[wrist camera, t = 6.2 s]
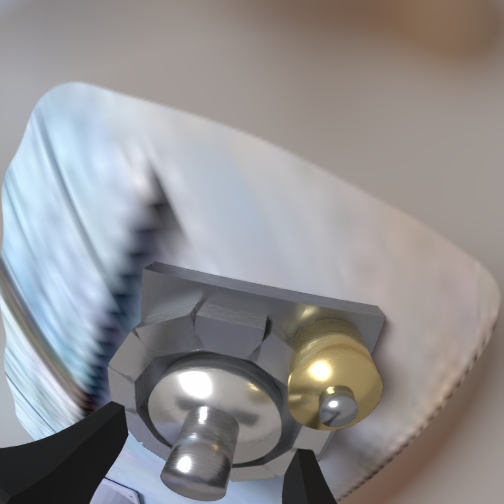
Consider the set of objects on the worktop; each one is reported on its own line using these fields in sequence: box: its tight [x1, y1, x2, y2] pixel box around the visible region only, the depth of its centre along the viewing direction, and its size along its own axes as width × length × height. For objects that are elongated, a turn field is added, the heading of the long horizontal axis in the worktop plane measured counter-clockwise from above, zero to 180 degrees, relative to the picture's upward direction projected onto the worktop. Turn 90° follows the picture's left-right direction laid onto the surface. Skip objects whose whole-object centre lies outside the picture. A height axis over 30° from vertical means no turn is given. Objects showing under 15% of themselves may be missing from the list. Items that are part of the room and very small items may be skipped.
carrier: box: [108, 262, 386, 482], centre depth 11 cm, size 11×11×5 cm
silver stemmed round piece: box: [148, 354, 282, 501], centre depth 10 cm, size 6×6×5 cm
